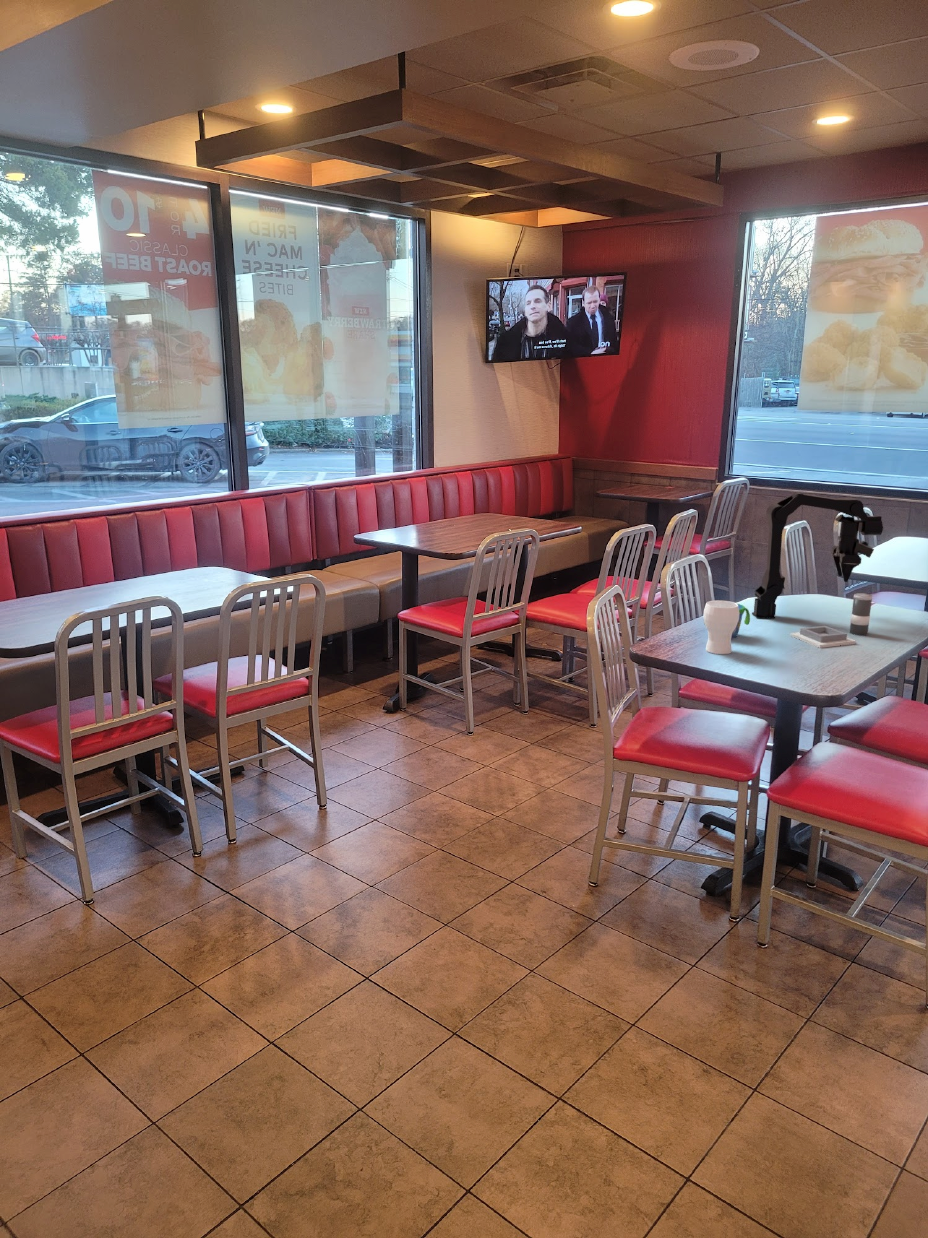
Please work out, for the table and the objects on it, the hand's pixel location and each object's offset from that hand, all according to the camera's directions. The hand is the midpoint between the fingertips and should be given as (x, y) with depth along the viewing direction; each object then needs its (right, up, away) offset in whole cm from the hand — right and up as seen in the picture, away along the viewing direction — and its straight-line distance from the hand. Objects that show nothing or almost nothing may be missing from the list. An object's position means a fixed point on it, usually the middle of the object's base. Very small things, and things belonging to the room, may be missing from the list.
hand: (842, 578), depth 314 cm
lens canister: (-1, -19, -15) cm, 24 cm away
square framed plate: (-16, -21, -23) cm, 35 cm away
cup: (-53, -24, -34) cm, 68 cm away
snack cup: (-46, -20, -18) cm, 53 cm away
